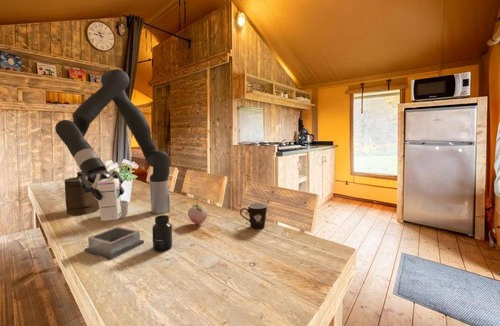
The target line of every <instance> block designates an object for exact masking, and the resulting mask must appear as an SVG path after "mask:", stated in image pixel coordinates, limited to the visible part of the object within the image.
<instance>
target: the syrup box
mask: <svg viewBox="0 0 500 326" xmlns="http://www.w3.org/2000/svg"><path fill="white" fill-rule="evenodd" d="M97 188H98V190H99V191H100V193H101V194H102V196H103V198H102V199H101V200H99V205H100V209H99V213H100V221H116V220H119V219H118V218H119V217H120V216H121V214H122V212H121V195H120V187H119V179H118V178H109V179H103V180H101V181H99V182H98V185H97Z"/></svg>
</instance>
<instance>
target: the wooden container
mask: <svg viewBox="0 0 500 326" xmlns="http://www.w3.org/2000/svg"><path fill="white" fill-rule="evenodd" d="M81 175H83V176H84V174H83V173H82V171H81V170H80V171H77V173H76V176H75V177H69V178H66V179H64V191H65V192H64V194H65V197H64V198H65V208H66V209H65V210H66V211H65V212H66V214H67V215H68V216H83V215H89V214H93V213H96V212H97V211H100V209H99V201H98V199H96V198H95V197H94V195H93V194H92V193H91V192H87V193H85V192H84V191H83V189H82V187H81V185H80V183H79V182H78V180H79V178H80V177H81ZM87 182H88V183H89V185H90V187H91V185H92V183H91V182H89V181H87ZM96 189H98V187H97V188H96Z"/></svg>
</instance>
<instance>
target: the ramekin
mask: <svg viewBox="0 0 500 326" xmlns="http://www.w3.org/2000/svg"><path fill="white" fill-rule="evenodd" d="M129 204H130V203H129V201H128V200H121V212H122V214H121V216H120V217H119V218H118V220H121V219H124V218H126V216H127V215H128V213H129ZM99 210H100V205H99Z"/></svg>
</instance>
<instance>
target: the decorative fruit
mask: <svg viewBox="0 0 500 326" xmlns="http://www.w3.org/2000/svg"><path fill="white" fill-rule="evenodd" d="M208 215H209V214H208V210H207V208H206V207H205V206H203V205H199V204H198V203H197V204H194V205H192V206H191V207H190V208H189V210H188V212H187V216H188V218H189V219H190V221H191V222H192V223H194V224H195V225H201V224H202V223H204V222H205V221H206V220H207V217H208Z"/></svg>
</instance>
